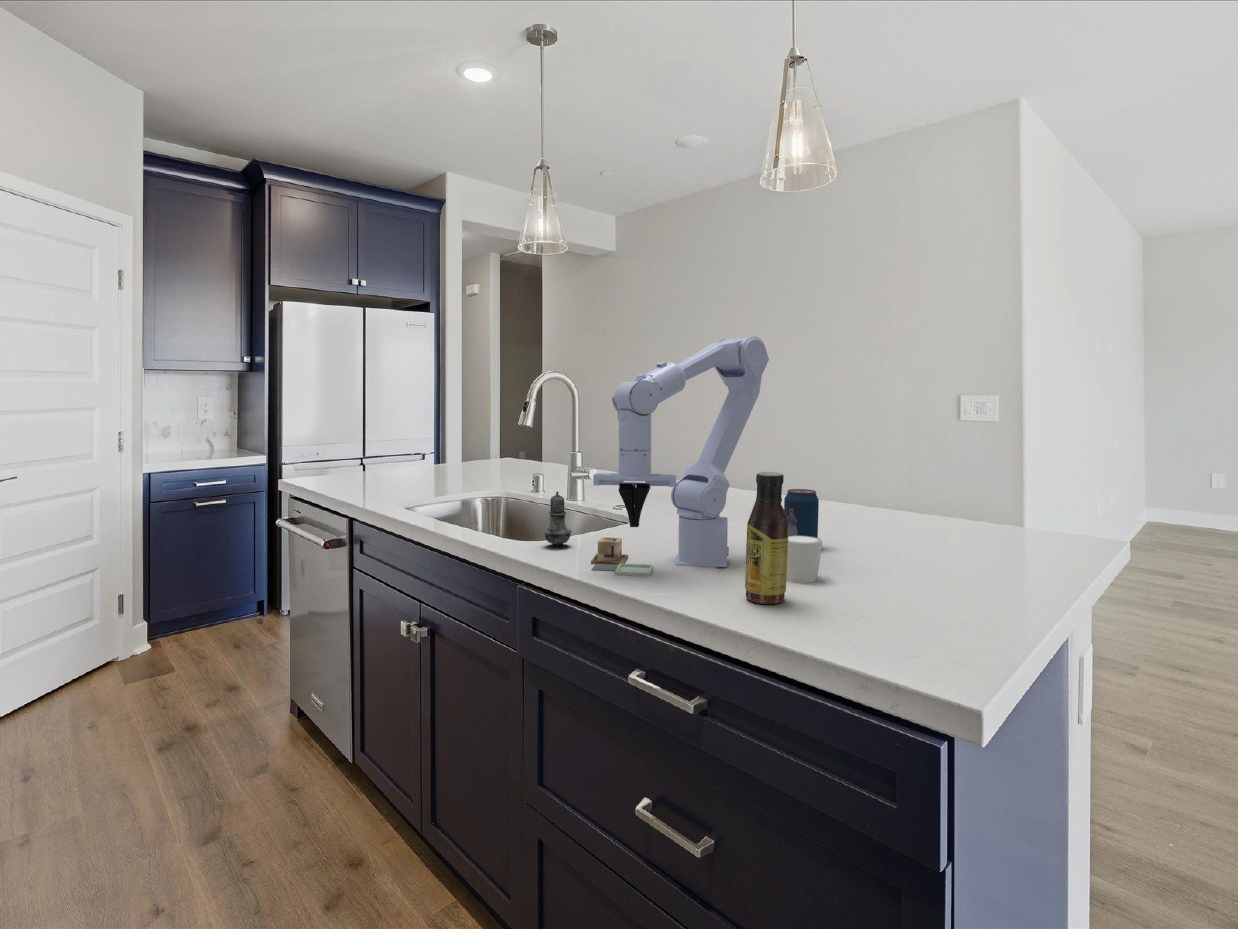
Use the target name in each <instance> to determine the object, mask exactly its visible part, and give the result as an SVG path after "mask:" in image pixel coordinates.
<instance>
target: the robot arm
mask: <svg viewBox="0 0 1238 929" xmlns="http://www.w3.org/2000/svg"><path fill="white" fill-rule="evenodd" d="M769 361H770V357H769V355H768V352H767V348H766V345H765V342H764V341H763V339H761V338H760V337H758V336H757V335H756V336H755V335H751V336H747V337H739V338H730V339H725V338H723V339H719V340H717V341H715V342H711V343H709V344H708V345H707V346H705V347H704V348H702V349H700V350H699V351H696V352H695V353H694V354H692V355H690V356H689V357H688V358H685V359H684V360H682V361H681V362H679V363H678V364H676V363H674V362H672V361H670V362H666V361H660V362H658V363H656V365H655V366H656V368H653V369H652V370H650V371H648V372H647V373H638V374H637V375H636V379H634V381H624V382H622V383H620V384H619V385H618V386H617V388H616V390H615V392H614V395H613V396H612V397H611V403H612V406H613V408H614V409H615V411H616V413H617V421H618V473H617V472H616V473H610V472H609V473H608V472H607V473H593V475H592V476H593V477H592V478H593V481H592V482H593V484H592V486H619V487H618V493H619V495H620V497H621V500H622V501H623V504H624V506H625V509H626V512H627V516H628V520H629V528H639V526H640V518H641V515H642V510H643V507H644V504H645V501H646V499H647V497H648V494H649V492H650V490H651V487H670V488H672V489H671V492H670V499H671V503H672V504H673V506H674V507H675V508H676V514H677V515H678V551H677V552H678V553H677V554H676V559H675V563H674V564H675V566H683V567H684V566H685V567H710V568H711V567H713V568H714V567H715V568H727V567H728V557H729V555H730V546H728V534H729V533H728V523H729V522H728V517H726V516H721V515H720V514H721V513H722V512H723V510H724V509H725V506H726V504H727V493H728V491H729V490H728V489H729V488H730V482H729V480H728V479H727V477H726V474H725V472H726V470H727V467H728V465H729V463H730V460H731V458H732V456H733V454H734V452H735V449H736V447H737V444H738V442H739V441H740V438H741V436H742V434H743V431H744V429H745V427H746V425H747V422H748V420H749V417H750V416H751V414H752V411H753V409H754V406H755V404H756V402H757V399H758V398H759V395H760V392H761V386H762V385H761V384H762V378H763V377H762V376H763V374H764V371H765V370H766V368H767V365H768V363H769ZM713 368H714V369H715V371H716V372H717V374H718V375H719V377H720V379H721V380H722V382H723V384H724V385H725V386H726V387H727V389H728V393H727V396H726V398H725V400H724V401H723V404H722V406H721V408H720V411H719V412H718V416H717V417H716V420H715V422H714V424H713V426H712V428H711V431H710V433H709V435H708V438H707V440H706V442H705V443H704V446H703V448H702V450H701V452H700V455H699V457H698V460H697V461H696V462H695V463H694V464H693V465H691V466H689V467H688V468H686V469H685V470H684V472H683V474H682V476H681V478H680V479H678V480H677V475H676V474H661V473H652V413H654V412H655V411H656V409H657V407H658V405H659V404H660V403H663V401H666V400H668V399H669V398H671V397H672V396H674V395H677V394H678V393H680V392H682V391H683V390H684V389H685V386H686V383H687V382H686V381H689V380H690V379H692V378H694V377H696V376H698V375H700V374H702V373H705V372H707V371H709V370H710V369H713Z"/></svg>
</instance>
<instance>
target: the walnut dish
mask: <svg viewBox="0 0 1238 929" xmlns="http://www.w3.org/2000/svg"><path fill="white" fill-rule="evenodd" d="M628 558H629V554H622V559H621V560H620V562H615V561H598V553H596V554H595V555H594V557H593V558H592V559H591V560H590V565H595V564H614V565H619V563H623V564H626V562H627V560H628Z"/></svg>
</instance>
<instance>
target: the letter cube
mask: <svg viewBox="0 0 1238 929" xmlns="http://www.w3.org/2000/svg"><path fill="white" fill-rule="evenodd" d="M622 540H623V538H622V537H603V536H601V537H600V538H598V541H597V554H598V561H615V562H620V560H621V559H622V555H623V553H622V551H623V548H622V546H623V544H622V543H623V542H622Z"/></svg>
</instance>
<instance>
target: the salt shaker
mask: <svg viewBox="0 0 1238 929" xmlns="http://www.w3.org/2000/svg"><path fill="white" fill-rule="evenodd" d="M549 503H550V504H549V506H550V507H549V508H550V512H548V515H549V522H550V523H549V525H548V526H549V527H548V528H547V529H544V530H543V531H542V532H543V534H544V537H545V538H544V539H545V540H546V541H547V543H549V544H548V545H547V546H546V549H549V550H566V549H568V548H569V545H568V544H566V543H567V542H568V541H569V540H570V537H571V534H572V532H573V531H572V530H571V529H568V528H567V526H566V517H565V516H566V514H567V512H566V511H565V498H564V496H561V495H560V494H559V491H556V492H555V494H554V495H553V496H552V497H551V498H550V500H549Z"/></svg>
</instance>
